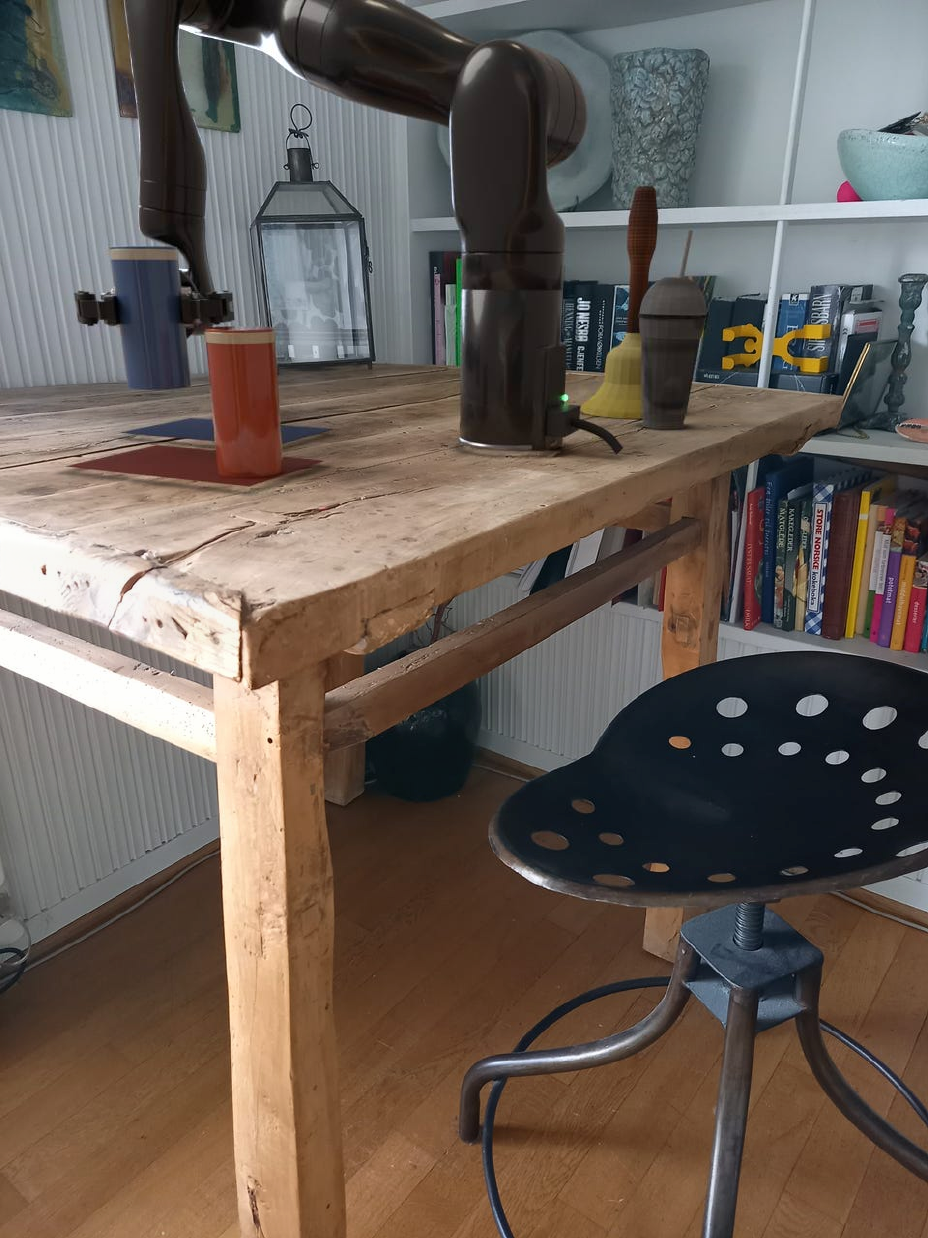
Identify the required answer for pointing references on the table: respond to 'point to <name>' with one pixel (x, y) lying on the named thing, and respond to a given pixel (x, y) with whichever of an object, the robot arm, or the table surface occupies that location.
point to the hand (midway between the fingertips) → (148, 310)
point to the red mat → (181, 465)
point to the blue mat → (205, 430)
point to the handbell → (630, 318)
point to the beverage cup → (670, 347)
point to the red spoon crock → (245, 400)
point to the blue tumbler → (150, 316)
